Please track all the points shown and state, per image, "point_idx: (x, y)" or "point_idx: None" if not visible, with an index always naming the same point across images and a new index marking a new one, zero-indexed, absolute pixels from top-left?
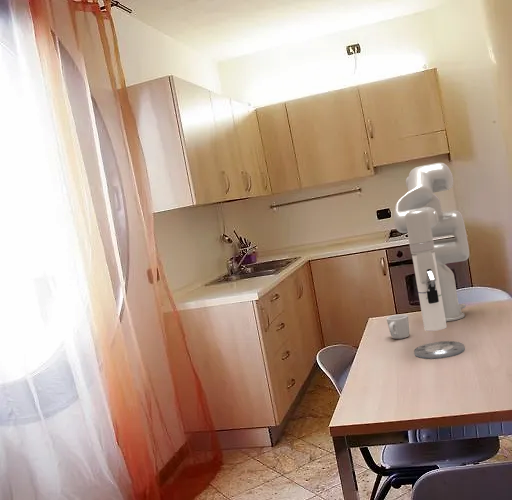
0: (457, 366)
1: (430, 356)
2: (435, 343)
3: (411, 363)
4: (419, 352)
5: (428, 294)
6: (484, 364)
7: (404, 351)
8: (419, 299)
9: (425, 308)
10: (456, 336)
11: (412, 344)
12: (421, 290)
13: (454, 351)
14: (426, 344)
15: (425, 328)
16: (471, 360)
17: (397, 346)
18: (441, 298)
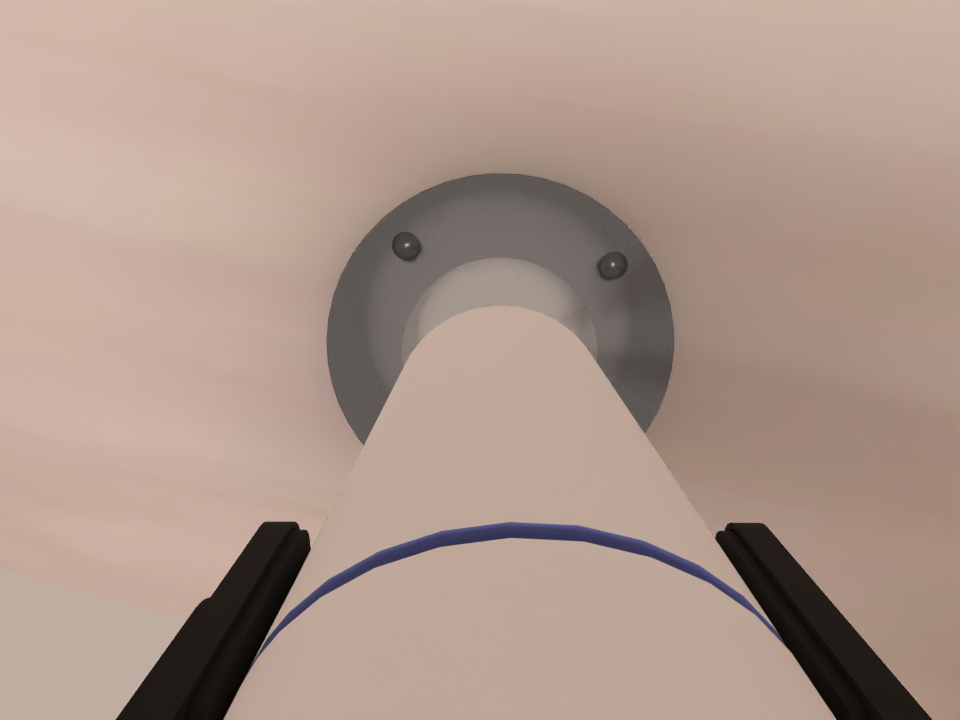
0: (117, 366)
1: (349, 260)
2: (637, 362)
3: (313, 107)
4: (466, 205)
5: (178, 667)
6: (100, 497)
7: (670, 118)
8: (534, 434)
9: (385, 422)
10: (793, 525)
11: (827, 218)
12: (297, 644)
13: (353, 421)
14: (655, 300)
15: (468, 314)
16: (205, 462)
17: (865, 90)
18: None
